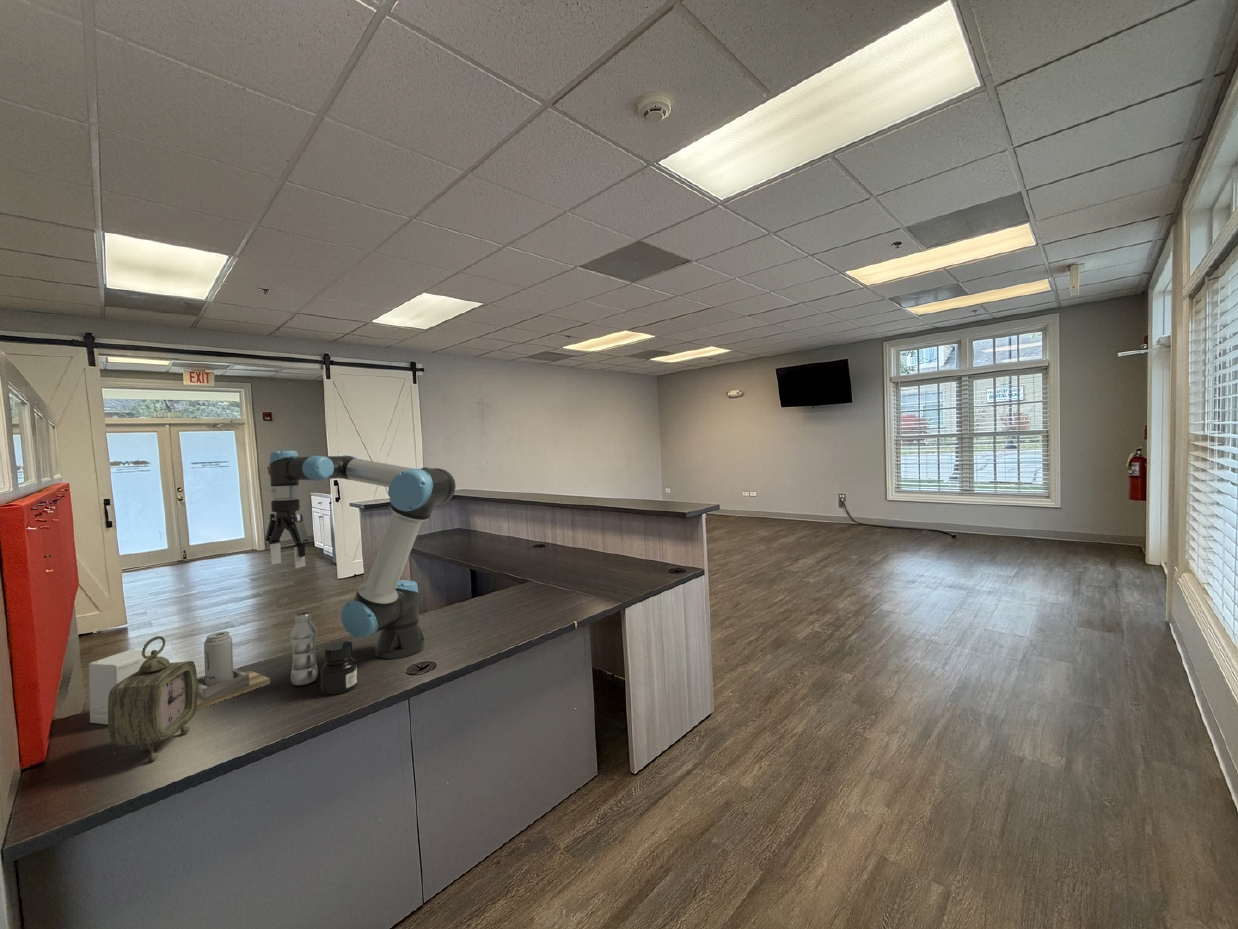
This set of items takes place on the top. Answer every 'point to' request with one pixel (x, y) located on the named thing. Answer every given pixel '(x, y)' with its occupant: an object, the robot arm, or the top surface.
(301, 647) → the plastic bottle
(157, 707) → the tabletop clock
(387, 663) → the top surface
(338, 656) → the ink bottle
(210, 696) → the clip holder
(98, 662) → the supplement box
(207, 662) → the energy drink can
